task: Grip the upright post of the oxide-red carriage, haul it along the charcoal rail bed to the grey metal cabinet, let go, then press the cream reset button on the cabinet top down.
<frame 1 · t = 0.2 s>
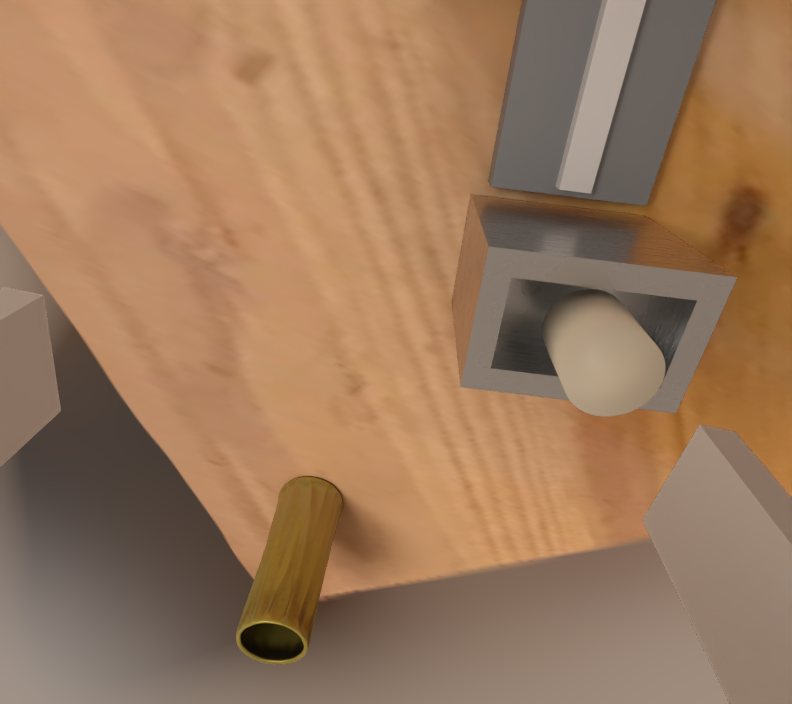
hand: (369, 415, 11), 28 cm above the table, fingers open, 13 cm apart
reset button: (597, 349, 25), point 14 cm above the table, slide at 0.0 cm
cabinet: (543, 261, 37), on the table
rail bed: (609, 3, 30), on the table
vase: (311, 498, 50), on the table
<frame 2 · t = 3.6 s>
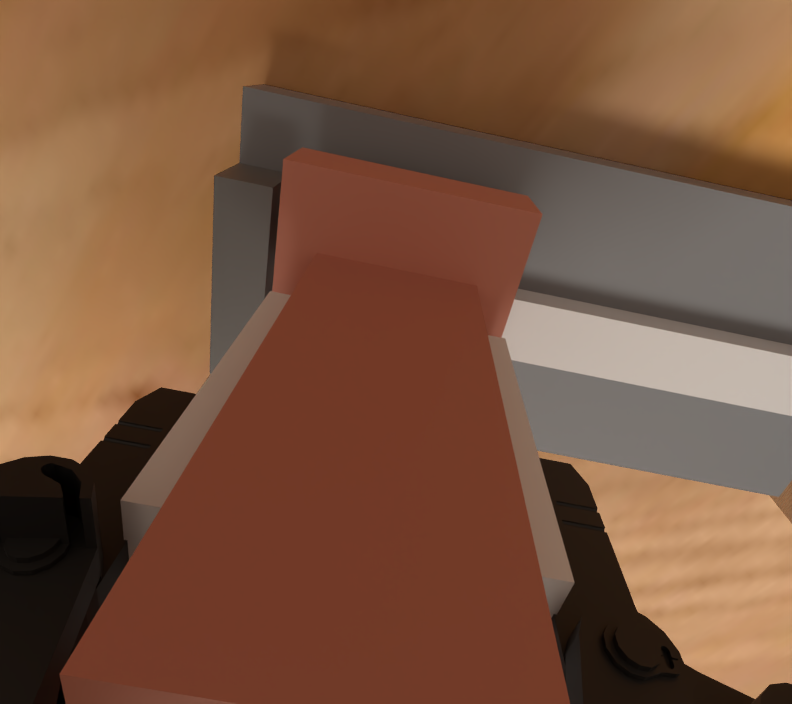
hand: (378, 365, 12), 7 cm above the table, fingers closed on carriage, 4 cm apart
carriage: (366, 433, 10), point 9 cm above the table, slide at 0.0 cm, touching gripper
rail bed: (544, 302, 19), on the table
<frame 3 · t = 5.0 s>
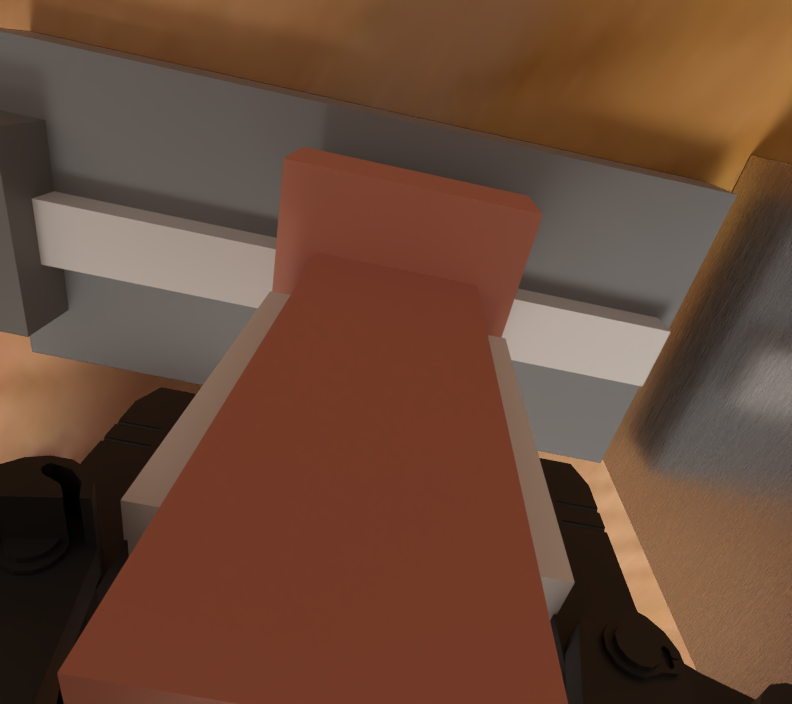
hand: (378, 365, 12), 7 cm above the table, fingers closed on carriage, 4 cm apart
cabinet: (768, 349, 19), on the table
carriage: (366, 433, 10), point 9 cm above the table, slide at 7.1 cm, touching gripper
rail bed: (351, 262, 18), on the table
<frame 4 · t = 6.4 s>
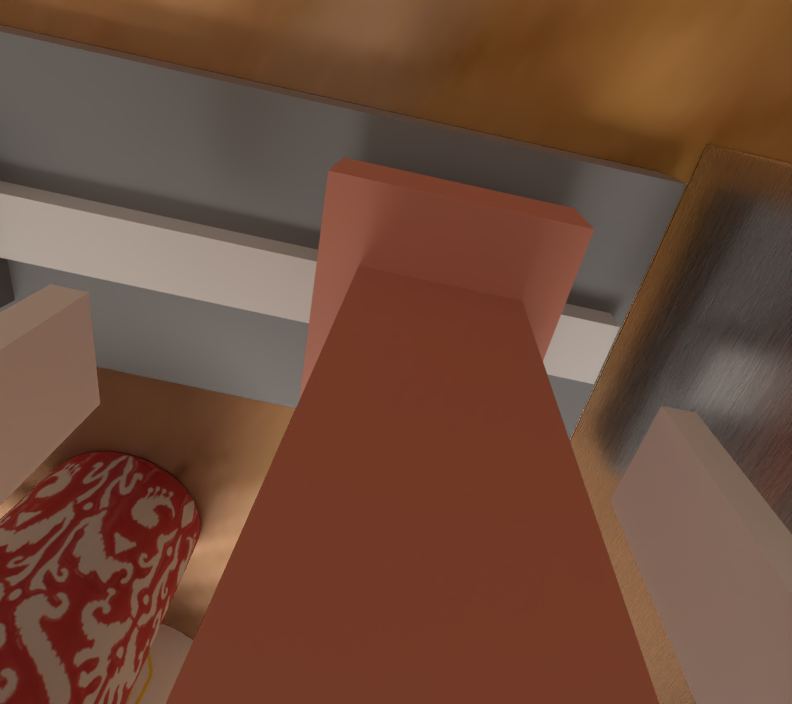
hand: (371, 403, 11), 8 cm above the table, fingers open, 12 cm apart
cup: (148, 656, 31), on the table
mug: (98, 507, 25), on the table
cabinet: (734, 347, 18), on the table
carriage: (414, 456, 10), point 9 cm above the table, slide at 10.0 cm
rail bed: (301, 254, 18), on the table
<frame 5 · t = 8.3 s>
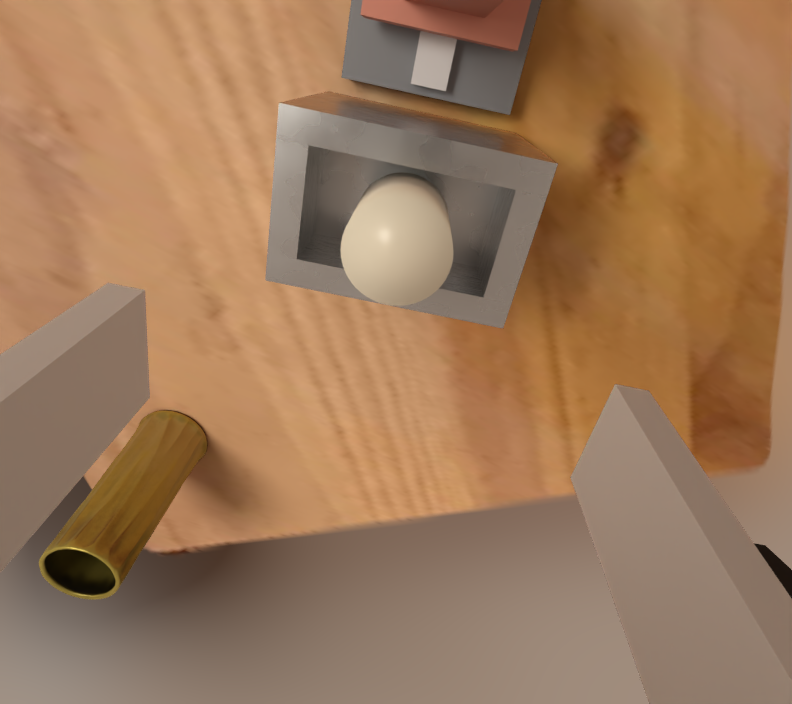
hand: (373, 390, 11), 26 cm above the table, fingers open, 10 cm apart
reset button: (399, 235, 22), point 14 cm above the table, slide at -0.1 cm
cabinet: (409, 177, 34), on the table
vase: (174, 435, 46), on the table
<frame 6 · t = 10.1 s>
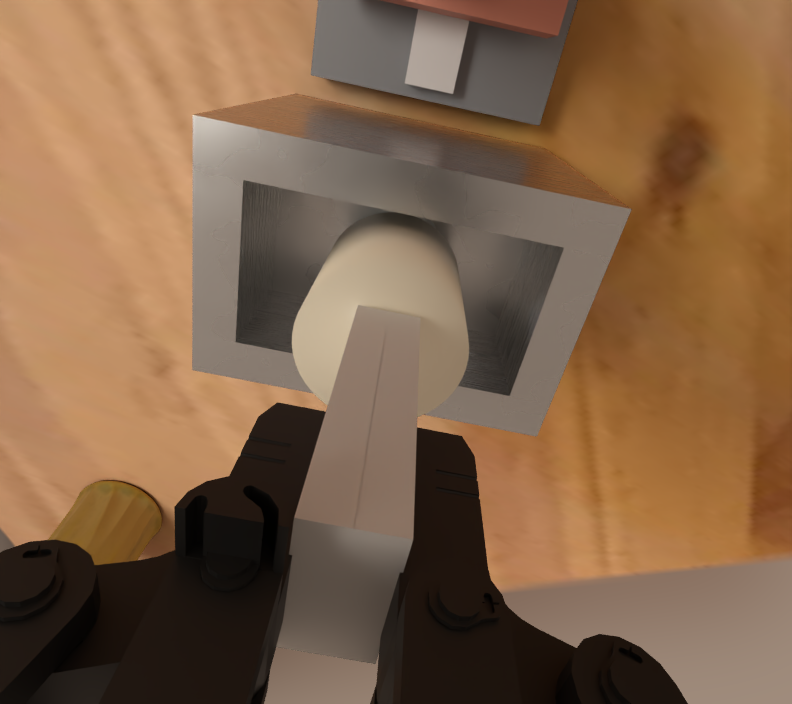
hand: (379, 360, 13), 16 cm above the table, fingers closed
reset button: (386, 309, 15), point 13 cm above the table, slide at 0.6 cm, touching gripper
cabinet: (404, 205, 26), on the table
vase: (123, 507, 38), on the table
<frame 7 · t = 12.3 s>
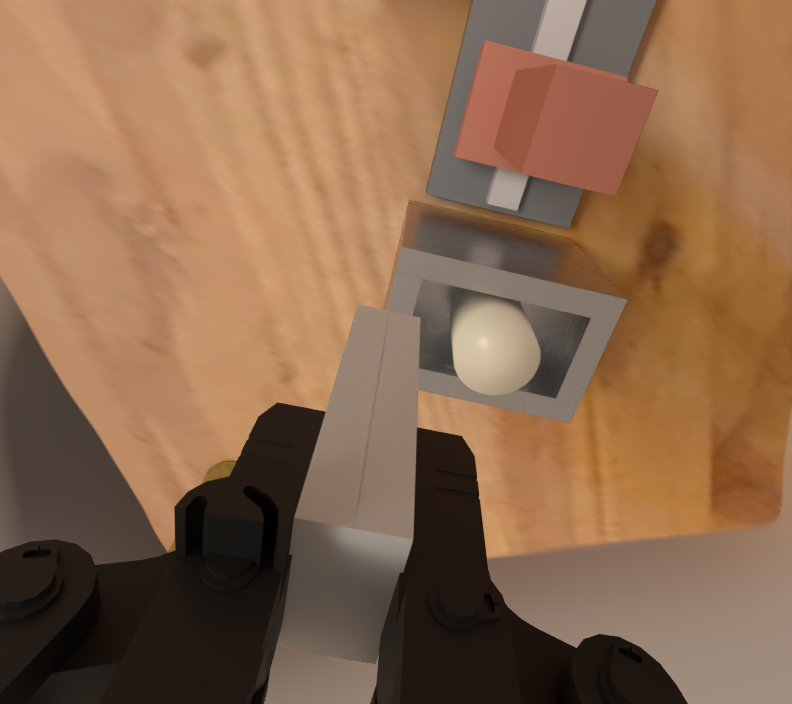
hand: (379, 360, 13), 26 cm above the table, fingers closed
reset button: (491, 337, 29), point 11 cm above the table, slide at 2.0 cm
cabinet: (474, 271, 39), on the table
carriage: (554, 123, 26), point 9 cm above the table, slide at 10.0 cm
rail bed: (546, 35, 32), on the table
vase: (237, 483, 50), on the table
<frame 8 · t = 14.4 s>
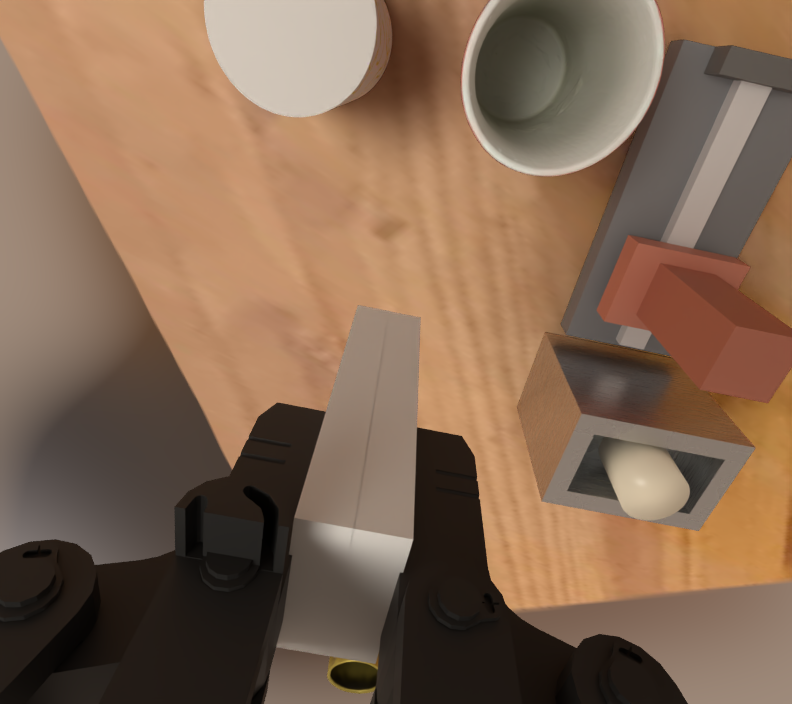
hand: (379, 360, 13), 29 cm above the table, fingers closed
cup: (332, 36, 35), on the table
mug: (513, 42, 35), on the table
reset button: (641, 470, 36), point 11 cm above the table, slide at 2.0 cm
cabinet: (595, 384, 47), on the table
carriage: (701, 318, 33), point 9 cm above the table, slide at 10.0 cm
rail bed: (672, 214, 39), on the table
vase: (371, 545, 58), on the table
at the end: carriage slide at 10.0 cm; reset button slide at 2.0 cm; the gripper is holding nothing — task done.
